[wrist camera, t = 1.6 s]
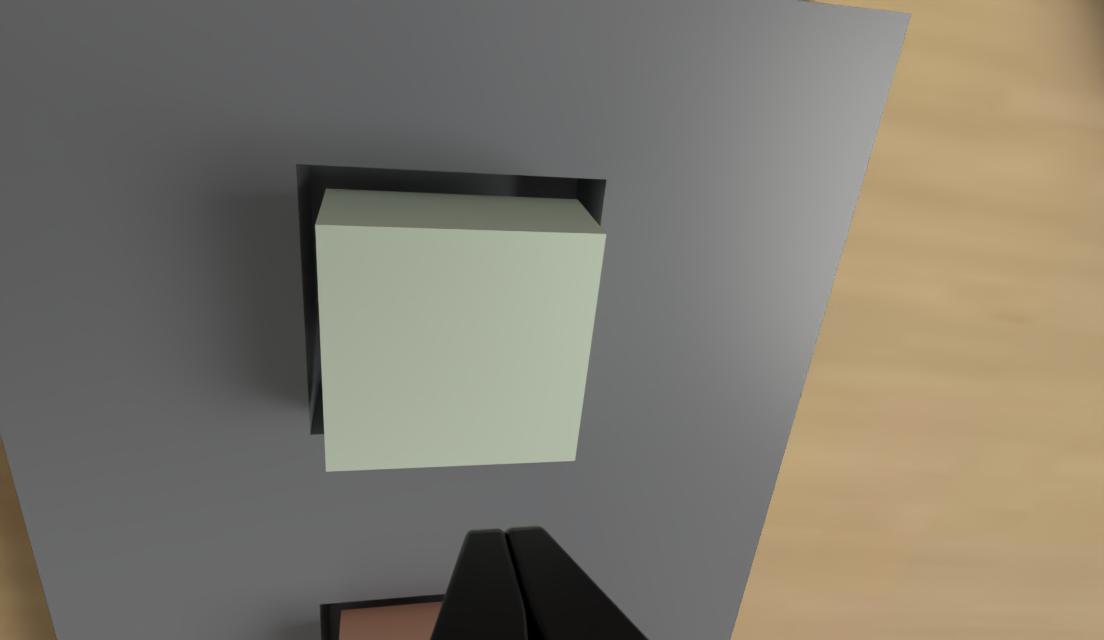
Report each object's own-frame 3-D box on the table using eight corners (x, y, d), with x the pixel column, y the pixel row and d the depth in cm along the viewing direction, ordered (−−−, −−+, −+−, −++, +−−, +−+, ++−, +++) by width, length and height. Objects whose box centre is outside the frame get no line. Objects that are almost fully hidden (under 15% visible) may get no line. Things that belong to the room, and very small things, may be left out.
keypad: (618, 858, 29) (641, 947, 26) (191, 934, 25) (168, 1046, 23) (821, 6, 15) (911, 13, 13) (-29, -93, 12) (-151, -111, 9)
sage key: (553, 404, 15) (575, 460, 13) (334, 409, 14) (326, 471, 12) (577, 199, 13) (606, 234, 11) (325, 188, 12) (315, 224, 10)
